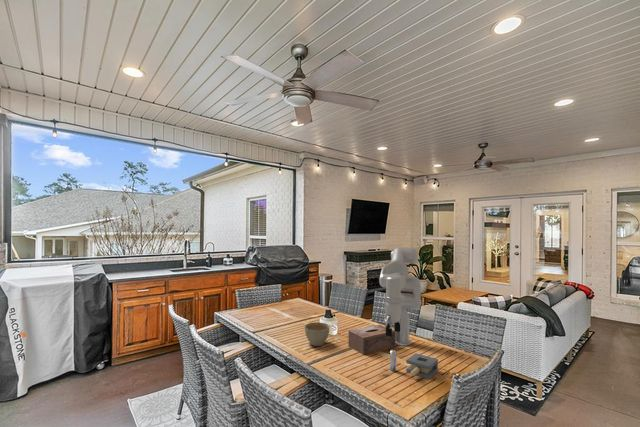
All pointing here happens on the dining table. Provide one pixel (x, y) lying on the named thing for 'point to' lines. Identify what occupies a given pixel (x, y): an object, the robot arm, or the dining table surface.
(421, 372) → the clevis bracket
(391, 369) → the steel pin
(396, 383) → the dining table surface
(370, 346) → the tissue box cover
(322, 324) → the planter bowl
